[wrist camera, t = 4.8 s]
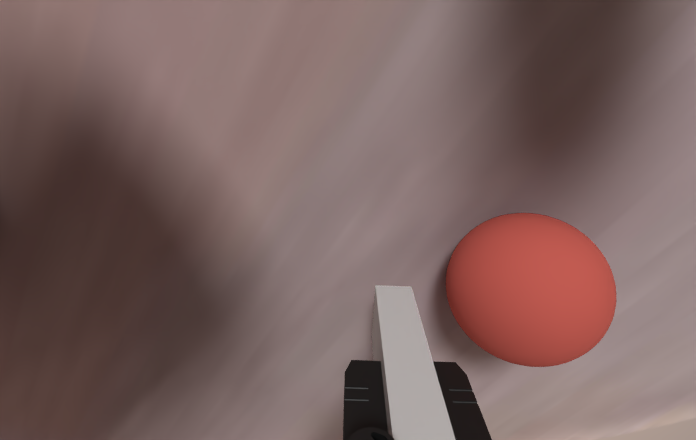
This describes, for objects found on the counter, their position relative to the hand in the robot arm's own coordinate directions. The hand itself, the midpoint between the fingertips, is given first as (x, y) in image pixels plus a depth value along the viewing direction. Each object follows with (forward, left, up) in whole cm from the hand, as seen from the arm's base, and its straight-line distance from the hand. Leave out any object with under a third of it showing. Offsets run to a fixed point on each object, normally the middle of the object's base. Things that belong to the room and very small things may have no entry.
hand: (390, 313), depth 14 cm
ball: (+5, +1, 0) cm, 5 cm away
